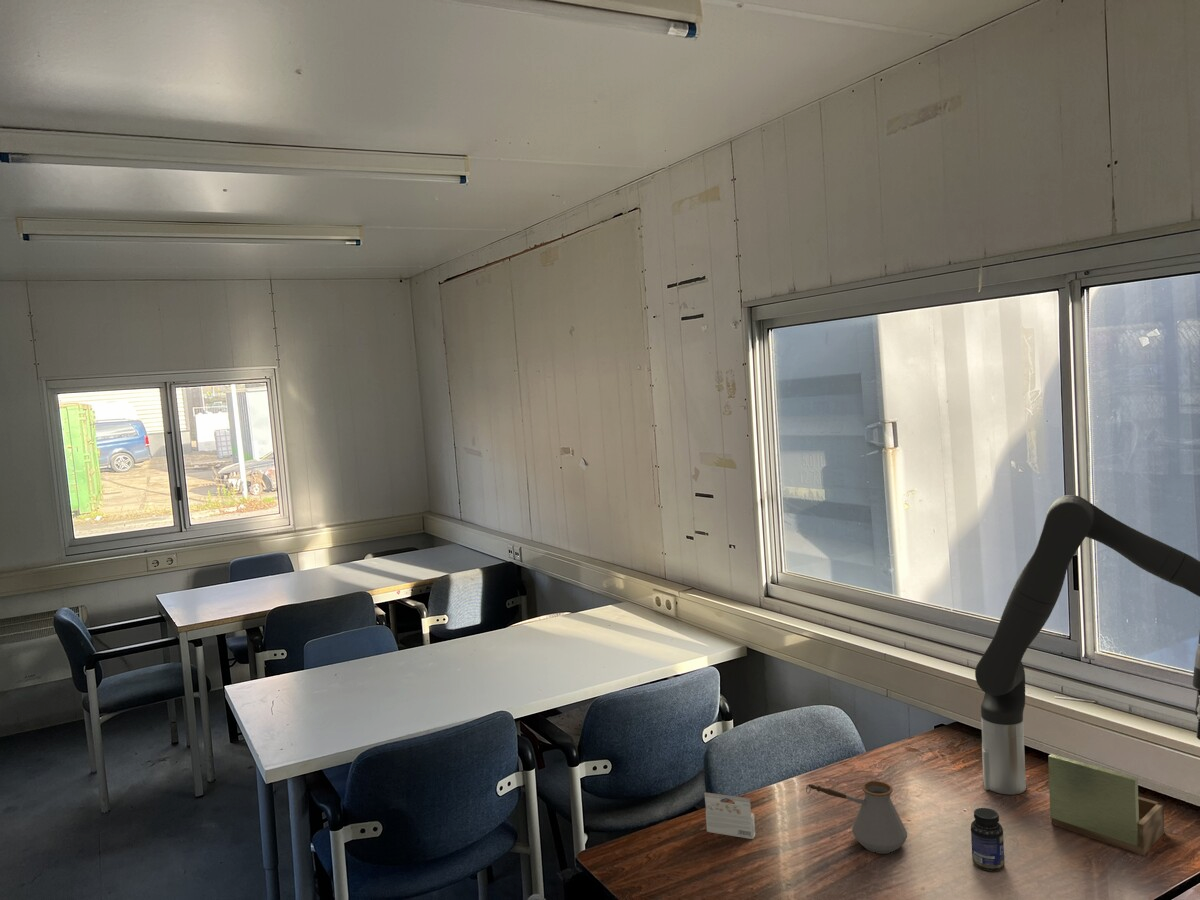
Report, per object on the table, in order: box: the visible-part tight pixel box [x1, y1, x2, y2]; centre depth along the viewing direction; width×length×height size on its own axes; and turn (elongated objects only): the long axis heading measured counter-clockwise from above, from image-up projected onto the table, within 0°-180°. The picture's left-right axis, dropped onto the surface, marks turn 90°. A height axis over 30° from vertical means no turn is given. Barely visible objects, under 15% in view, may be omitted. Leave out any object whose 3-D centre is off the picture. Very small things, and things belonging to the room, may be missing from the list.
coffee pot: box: [805, 780, 908, 854], centre depth 186 cm, size 21×12×15 cm, turn 92°
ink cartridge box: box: [703, 792, 756, 840], centre depth 195 cm, size 2×11×10 cm, turn 65°
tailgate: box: [1047, 753, 1140, 846], centre depth 181 cm, size 2×17×14 cm, turn 39°
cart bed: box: [1050, 795, 1165, 856], centre depth 185 cm, size 12×18×6 cm, turn 39°
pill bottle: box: [970, 807, 1006, 873], centre depth 175 cm, size 6×6×11 cm
